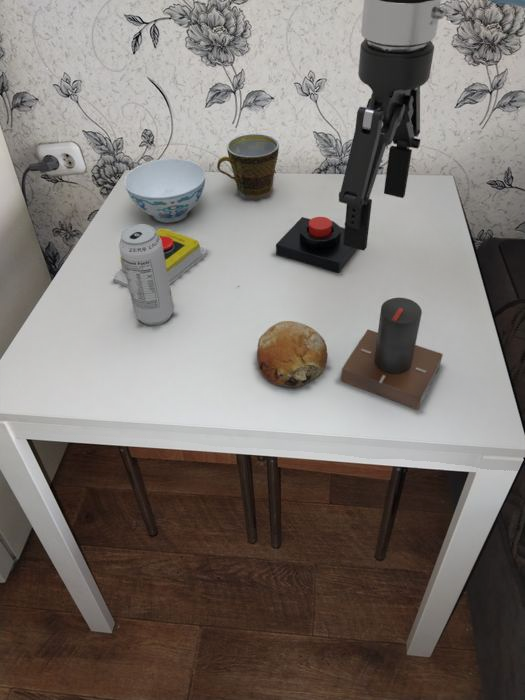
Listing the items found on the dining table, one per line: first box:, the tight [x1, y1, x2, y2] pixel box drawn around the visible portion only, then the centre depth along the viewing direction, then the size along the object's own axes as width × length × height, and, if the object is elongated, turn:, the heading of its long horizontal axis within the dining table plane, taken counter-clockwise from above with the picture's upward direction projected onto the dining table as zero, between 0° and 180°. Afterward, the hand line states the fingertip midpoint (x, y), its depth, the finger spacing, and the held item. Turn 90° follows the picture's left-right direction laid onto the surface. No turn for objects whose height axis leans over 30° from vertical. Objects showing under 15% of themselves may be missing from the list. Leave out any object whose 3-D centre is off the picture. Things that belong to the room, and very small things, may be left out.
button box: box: [275, 216, 358, 274], centre depth 103 cm, size 12×10×4 cm
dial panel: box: [340, 329, 443, 411], centre depth 81 cm, size 11×9×3 cm
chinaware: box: [123, 158, 206, 223], centre depth 112 cm, size 15×15×8 cm
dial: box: [374, 297, 423, 374], centre depth 77 cm, size 5×5×9 cm
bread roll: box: [256, 320, 328, 388], centre depth 82 cm, size 10×10×8 cm
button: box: [308, 216, 333, 237], centre depth 101 cm, size 4×4×2 cm
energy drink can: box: [118, 223, 175, 326], centre depth 87 cm, size 6×6×15 cm
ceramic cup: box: [216, 133, 280, 201], centre depth 115 cm, size 13×10×10 cm
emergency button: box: [113, 228, 208, 289], centre depth 100 cm, size 9×4×15 cm
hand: (375, 219), depth 76 cm, fingers open, 13 cm apart
